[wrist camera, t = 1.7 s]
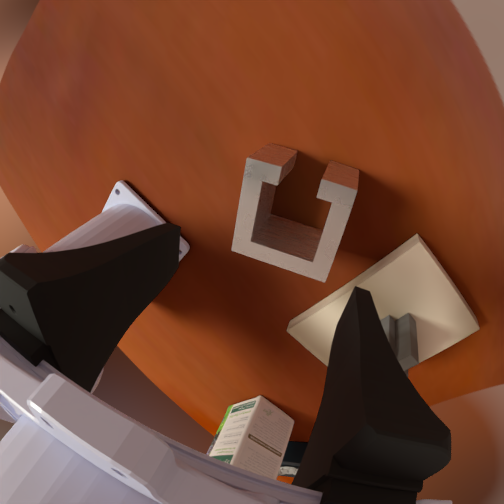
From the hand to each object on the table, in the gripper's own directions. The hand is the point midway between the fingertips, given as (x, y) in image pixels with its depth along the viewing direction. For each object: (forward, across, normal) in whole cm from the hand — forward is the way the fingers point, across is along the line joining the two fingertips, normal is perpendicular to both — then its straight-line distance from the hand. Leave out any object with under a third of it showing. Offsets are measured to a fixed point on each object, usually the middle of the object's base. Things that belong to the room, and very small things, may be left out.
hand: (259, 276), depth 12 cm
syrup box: (+9, -2, +26) cm, 27 cm away
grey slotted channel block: (+9, 0, 0) cm, 9 cm away
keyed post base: (+9, -8, +7) cm, 14 cm away
